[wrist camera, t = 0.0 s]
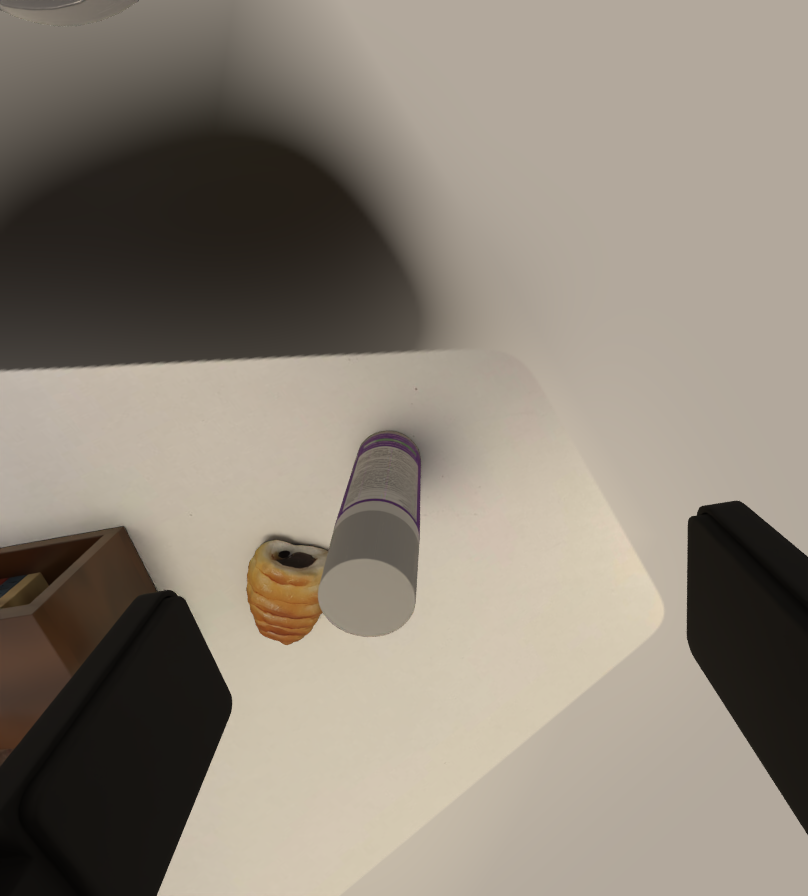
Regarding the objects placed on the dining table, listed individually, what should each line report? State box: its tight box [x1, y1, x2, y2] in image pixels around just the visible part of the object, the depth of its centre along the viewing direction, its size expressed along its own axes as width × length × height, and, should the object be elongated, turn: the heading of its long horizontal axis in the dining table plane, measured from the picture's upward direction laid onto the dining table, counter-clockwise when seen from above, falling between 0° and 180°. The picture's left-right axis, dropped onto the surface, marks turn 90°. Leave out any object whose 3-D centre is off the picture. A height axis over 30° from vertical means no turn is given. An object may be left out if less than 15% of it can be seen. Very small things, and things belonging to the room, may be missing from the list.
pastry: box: [246, 540, 328, 645], centre depth 39 cm, size 9×7×4 cm
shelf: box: [0, 527, 157, 750], centre depth 37 cm, size 11×14×10 cm
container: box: [318, 431, 421, 637], centre depth 29 cm, size 5×5×15 cm
